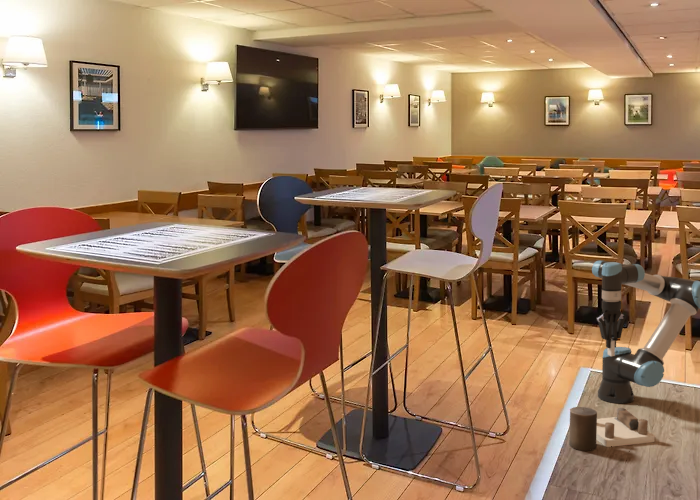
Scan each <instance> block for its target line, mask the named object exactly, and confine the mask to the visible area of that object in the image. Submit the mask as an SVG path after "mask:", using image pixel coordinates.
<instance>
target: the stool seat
mask: <svg viewBox="0 0 700 500" xmlns="http://www.w3.org/2000/svg"><path fill="white" fill-rule="evenodd" d="M638 422H639V424H638V429H629V428H628V427H627V426H625V425H624V424H623V423H622V422H621V421H619V420H618V419H617V416H612V417H602V418H597V436H596V441H598V443H600V444H602V445H603V446H604V447H606V448H610V447H611V446H612V447H620V446H630V445H638V444H639V445H641V444H648V443H655V442H656V441H655V437H656V435H654V434H653V433H651V432H650V431H648V429H649V428H648V426H649V425H648V423H649V420H647V419H643V418H641V419H640V418H639V419H638Z"/></svg>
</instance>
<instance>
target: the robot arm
mask: <svg viewBox="0 0 700 500" xmlns="http://www.w3.org/2000/svg"><path fill="white" fill-rule="evenodd" d="M591 272H592V275H593V276H594V277H596V278H599V279H601V299H602V300H601V310H602V311H601V315H599V316H597V317H596V321H597V323H598V327H599V331H600V337H601V339H603V340H605V341H606V342H605V347H606V348H605V349H603V351H602V368H601V369H602V375H601V376H602V377H601V382H600V385H599V387H598V390H597V397H598V399H599V400H602V401H604V402H608V403H612V404H613V403H614V404H628V403H631V402H634V399H635V398H634V396H635V395H634V391H633V388H632V385H631V383H634V384H637V385H638V386H641V387H646V388H651V387H655V386H657V385H658V384H659V383H660V382H661V381H662V379H663V377H665V376H664V375H665V374H664V373H665V367H664V364H665V363H664V359H663V358H665V356H666V354H667V352H668V351H669V349H670V348H671V346H672V344H674V342H675V340H676V339H677V337H678V335H679V334H680V332H681V331H682V329H683V328H684V326H685V324H686V323H687V321H688V320H689V318H690V317H691V316H695V315H696V314H697V313H698V312H699V310H700V280H694V279H690V278H689V279H687V278H681V277H676V276H664V275H660V274H653V275H652V274H650V273H646V271H645V269H644V267H643V266H642V265H640V264H638V263H635V264H634V263H632V264H626V263H625V264H624V263H621V262H616V261H606V260H599V259H598V260H596V261H594V262H593V264H592V268H591ZM623 285H625V286H629V287H632V288H636V289H639V290H642V291H645V292H647V294H649V295H652V296H653V297H657V298H659V299H662V300H664V301H667V302H669V303H670V306H669V308H668V310H667V311H666V313H665V314H664V316H663V317H662V319H661V320H660V322H659V324H658V326H657V327H656V328H655V329H654V331H653V333H652V335H651V336H650V338H649V339H648V341H647V342H646V344H645V345H644V346H643V347H641V348H638V349H637V351H636V352H635V354H633V353H632V350H631V348H630V347H626V346H617V341H619V339H621V337H622V332H623V329H624V323H625V320H626V319H627V315H624V314H623V313H622V311H621V310H622V288H623V287H622V286H623Z"/></svg>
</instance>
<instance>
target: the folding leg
mask: <svg viewBox="0 0 700 500" xmlns="http://www.w3.org/2000/svg"><path fill="white" fill-rule="evenodd" d="M616 411H617V412H616V417H617V419H618V420H619V421H621V422H622V423H623V424H624V425H625V426H627V427H628V428H629V429H638V424H639V419H638V418H637V417H636V416H634V415H633V414H632V413H631V412H629V411H628V410H627V409H626V408H625V407H617V409H616Z"/></svg>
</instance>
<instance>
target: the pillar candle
mask: <svg viewBox="0 0 700 500" xmlns="http://www.w3.org/2000/svg"><path fill="white" fill-rule="evenodd" d="M597 419H598V411H597V410H595V409H594V408H591V407H587V406H573V407H571V408H570V409H569V435H568V437H569V439H568V441H569V442H568V444H569V447H571V448H572V449H574V450H578V451H583V452H589V451H594V450H596V449H597V440H596V436H597Z"/></svg>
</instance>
